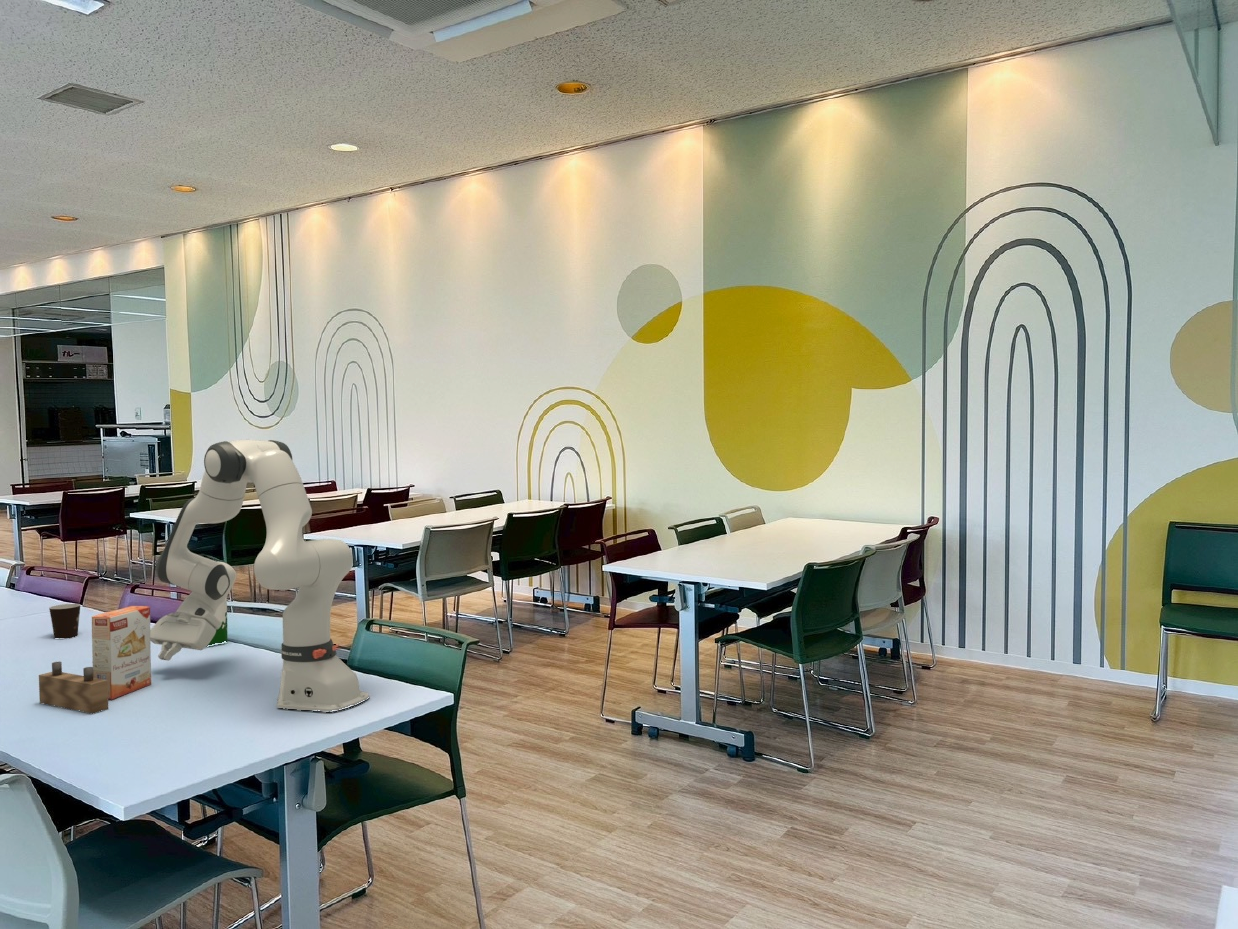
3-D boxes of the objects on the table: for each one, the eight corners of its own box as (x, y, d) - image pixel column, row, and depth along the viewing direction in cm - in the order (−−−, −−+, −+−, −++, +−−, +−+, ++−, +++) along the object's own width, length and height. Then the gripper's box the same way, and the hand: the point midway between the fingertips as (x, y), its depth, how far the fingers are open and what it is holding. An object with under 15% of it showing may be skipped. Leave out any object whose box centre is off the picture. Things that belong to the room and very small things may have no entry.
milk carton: (191, 644, 278) (189, 580, 277) (220, 639, 284) (218, 577, 283) (202, 649, 272) (200, 583, 271) (232, 643, 278) (230, 580, 277)
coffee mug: (70, 640, 285) (69, 609, 285) (44, 640, 285) (43, 609, 285) (92, 631, 297) (91, 601, 296) (67, 631, 297) (66, 602, 296)
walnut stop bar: (108, 709, 214) (107, 667, 213) (92, 714, 210) (90, 672, 210) (56, 698, 222) (54, 659, 222) (39, 703, 219) (38, 662, 218)
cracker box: (113, 700, 220) (110, 616, 220) (92, 699, 222) (89, 615, 221) (153, 684, 234) (151, 605, 233) (133, 683, 235) (131, 604, 235)
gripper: (160, 606, 249) (129, 648, 240) (212, 612, 240) (181, 656, 232) (175, 618, 253) (144, 661, 245) (226, 625, 244) (196, 669, 236)
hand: (163, 659), depth 238 cm, fingers closed
